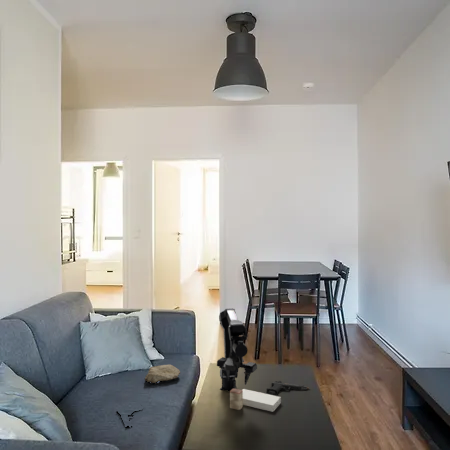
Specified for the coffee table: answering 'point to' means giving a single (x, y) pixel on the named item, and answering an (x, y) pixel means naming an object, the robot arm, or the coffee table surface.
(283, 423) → the coffee table surface
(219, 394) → the coffee table surface
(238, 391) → the brown and pink block
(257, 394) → the panel
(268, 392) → the handgun
